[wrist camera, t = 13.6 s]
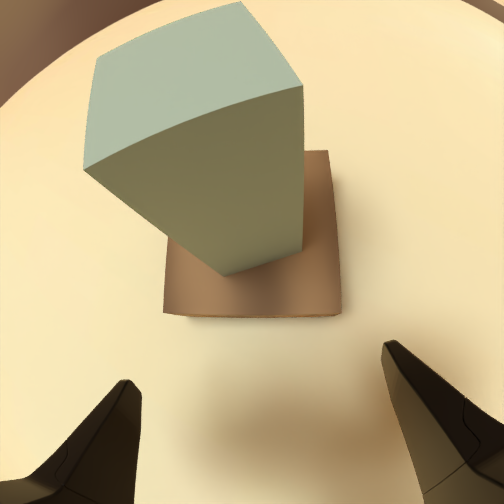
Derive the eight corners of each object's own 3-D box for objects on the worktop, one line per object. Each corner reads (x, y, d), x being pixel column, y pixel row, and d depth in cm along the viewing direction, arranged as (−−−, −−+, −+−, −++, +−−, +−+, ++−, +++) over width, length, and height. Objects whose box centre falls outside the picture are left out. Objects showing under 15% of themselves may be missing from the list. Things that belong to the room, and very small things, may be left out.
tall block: (223, 276, 18) (83, 169, 5) (205, 206, 19) (96, 58, 7) (302, 251, 18) (303, 85, 5) (276, 182, 19) (240, 1, 7)
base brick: (185, 316, 22) (163, 312, 18) (194, 185, 25) (177, 161, 21) (333, 315, 20) (341, 312, 16) (324, 177, 23) (327, 150, 19)
